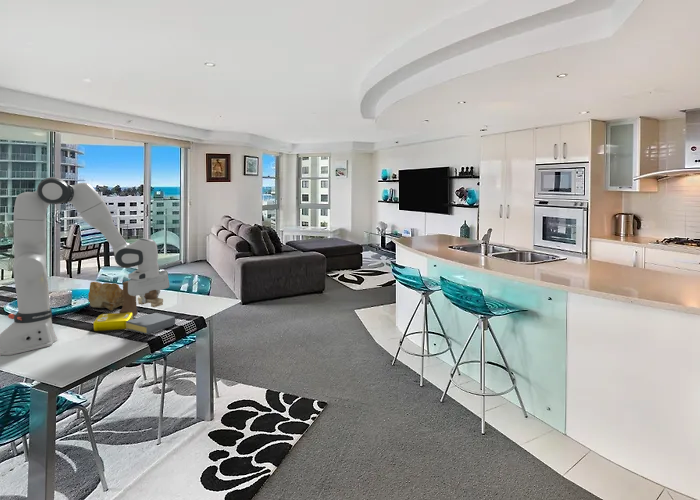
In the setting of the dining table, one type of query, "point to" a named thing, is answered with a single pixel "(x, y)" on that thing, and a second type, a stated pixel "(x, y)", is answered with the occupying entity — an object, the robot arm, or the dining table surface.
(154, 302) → the tan stepped block
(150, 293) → the brown box
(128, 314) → the element tile
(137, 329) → the dock
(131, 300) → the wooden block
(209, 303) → the dining table surface
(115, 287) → the rough brown rock
